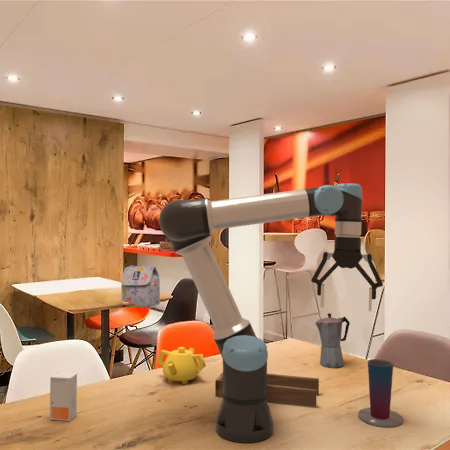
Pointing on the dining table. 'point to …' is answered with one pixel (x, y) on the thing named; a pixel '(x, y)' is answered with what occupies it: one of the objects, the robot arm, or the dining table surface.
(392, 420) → the coaster
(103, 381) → the dining table surface
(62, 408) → the skincare box
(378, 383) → the cup
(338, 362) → the moka pot
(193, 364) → the teapot
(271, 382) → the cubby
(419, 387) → the dining table surface
